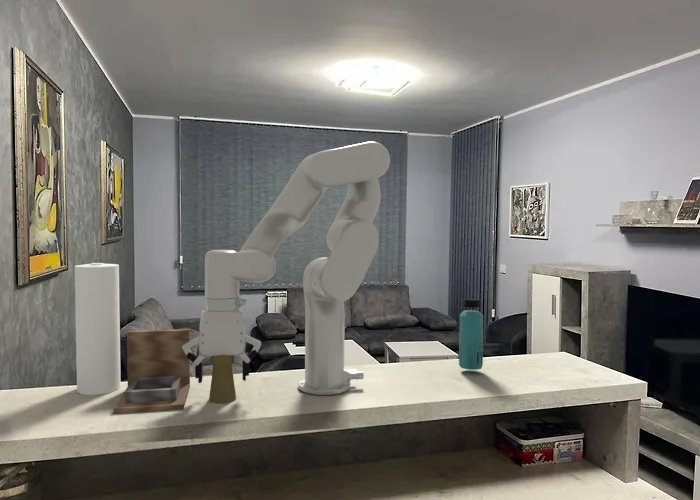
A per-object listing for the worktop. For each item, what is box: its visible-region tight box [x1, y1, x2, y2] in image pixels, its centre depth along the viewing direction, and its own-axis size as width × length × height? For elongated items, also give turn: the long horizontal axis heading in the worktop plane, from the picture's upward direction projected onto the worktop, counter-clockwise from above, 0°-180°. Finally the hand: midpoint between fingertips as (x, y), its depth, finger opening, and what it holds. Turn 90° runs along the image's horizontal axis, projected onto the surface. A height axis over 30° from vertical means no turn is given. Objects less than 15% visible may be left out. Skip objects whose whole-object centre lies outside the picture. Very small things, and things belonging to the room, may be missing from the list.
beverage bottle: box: [458, 298, 484, 371], centre depth 142 cm, size 6×7×20 cm
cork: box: [208, 355, 237, 405], centre depth 119 cm, size 6×6×11 cm
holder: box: [112, 328, 191, 414], centre depth 119 cm, size 14×16×14 cm
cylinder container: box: [74, 262, 122, 396], centre depth 125 cm, size 9×9×30 cm
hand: (222, 380), depth 119 cm, fingers open, 9 cm apart
